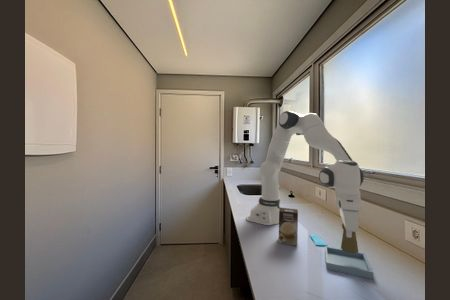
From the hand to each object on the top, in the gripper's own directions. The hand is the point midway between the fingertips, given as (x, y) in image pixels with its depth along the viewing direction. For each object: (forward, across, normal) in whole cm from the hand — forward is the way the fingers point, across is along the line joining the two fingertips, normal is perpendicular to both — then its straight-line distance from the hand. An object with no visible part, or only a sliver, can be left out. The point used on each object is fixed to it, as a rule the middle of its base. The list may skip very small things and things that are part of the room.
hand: (347, 233), depth 81 cm
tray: (+12, 0, -1) cm, 12 cm away
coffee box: (+12, -10, -24) cm, 29 cm away
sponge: (+13, -17, -11) cm, 24 cm away
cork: (+6, 0, +1) cm, 7 cm away
